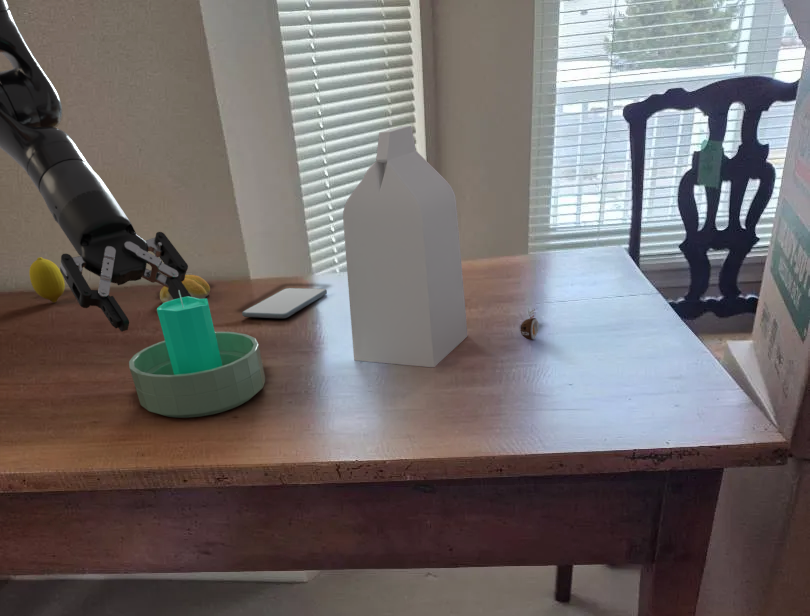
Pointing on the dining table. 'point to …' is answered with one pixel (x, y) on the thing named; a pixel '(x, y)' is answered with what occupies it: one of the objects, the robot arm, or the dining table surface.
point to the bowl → (199, 379)
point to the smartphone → (284, 303)
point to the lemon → (47, 279)
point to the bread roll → (189, 288)
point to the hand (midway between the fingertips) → (157, 317)
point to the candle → (189, 335)
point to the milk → (403, 259)
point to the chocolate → (530, 327)
